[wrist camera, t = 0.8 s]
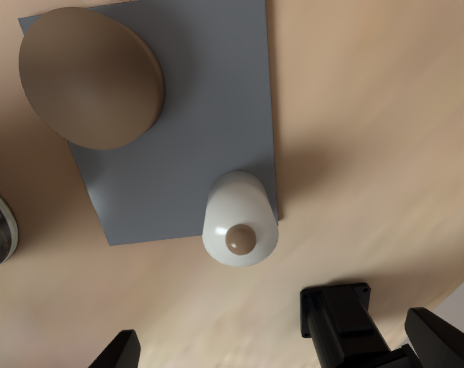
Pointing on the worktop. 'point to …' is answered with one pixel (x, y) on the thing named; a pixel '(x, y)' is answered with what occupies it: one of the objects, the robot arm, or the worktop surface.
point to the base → (91, 78)
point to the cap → (239, 220)
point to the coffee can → (7, 232)
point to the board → (186, 119)
